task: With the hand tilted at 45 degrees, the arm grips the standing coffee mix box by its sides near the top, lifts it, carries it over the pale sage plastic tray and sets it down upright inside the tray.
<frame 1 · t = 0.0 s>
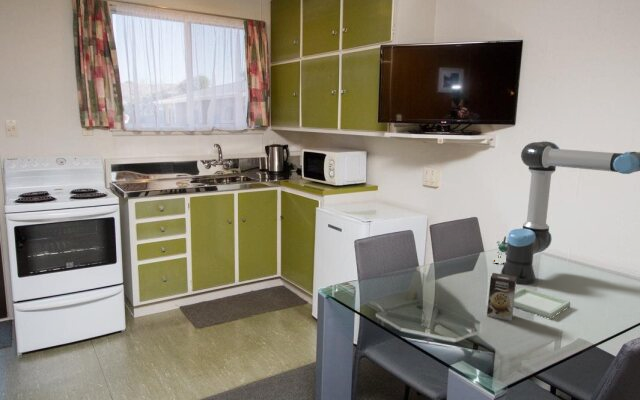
frog figurine: (503, 261, 247), on the table
coffee box: (499, 316, 180), on the table
tray: (535, 305, 190), on the table
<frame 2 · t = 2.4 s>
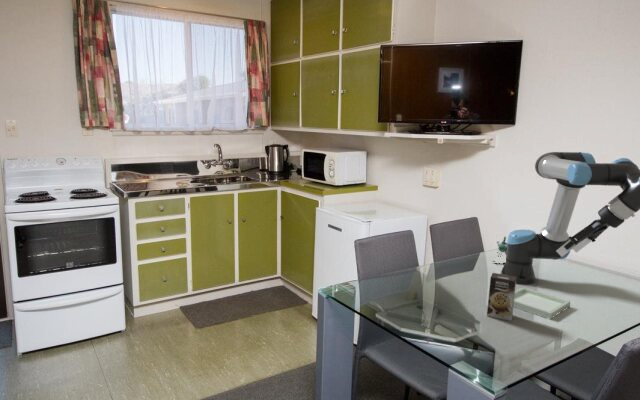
hand: (566, 251, 165), 29 cm above the table, fingers open, 13 cm apart
nothing on the table moved.
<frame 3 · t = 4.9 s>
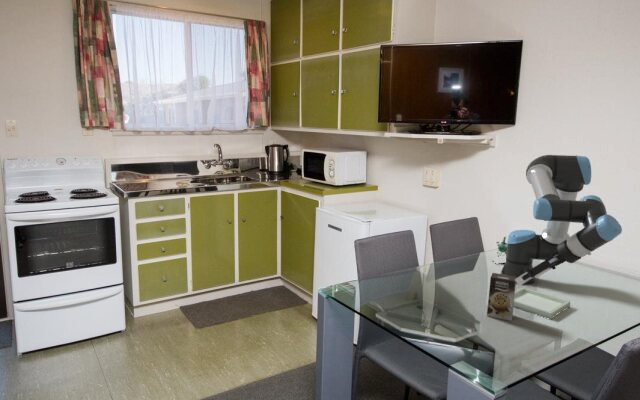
hand: (526, 278, 169), 18 cm above the table, fingers open, 13 cm apart
nothing on the table moved.
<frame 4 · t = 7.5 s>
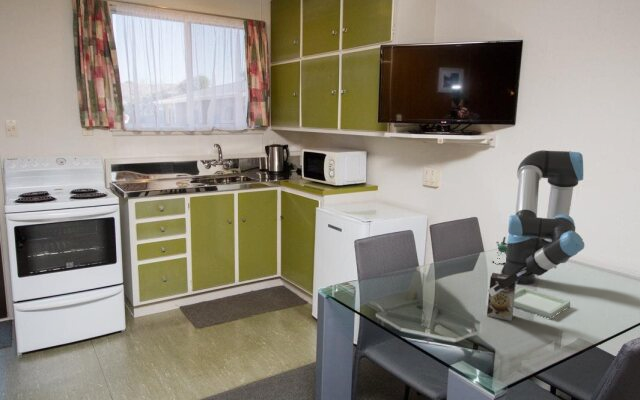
hand: (496, 290, 180), 10 cm above the table, fingers closed on coffee box, 9 cm apart
coffee box: (499, 316, 180), on the table, touching gripper
everything else where it was.
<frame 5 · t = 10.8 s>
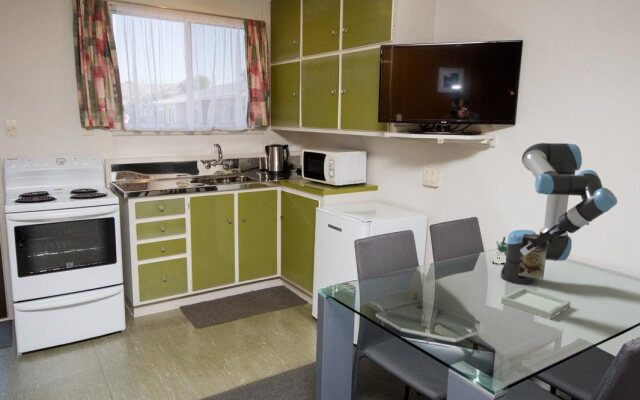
hand: (528, 250, 186), 23 cm above the table, fingers closed on coffee box, 9 cm apart
coffee box: (531, 275, 186), point 13 cm above the table, touching gripper
everything else where it was.
when the fingers open (12 cm above the table, at t = 13.9 s): coffee box drops 1 cm, resting on tray.
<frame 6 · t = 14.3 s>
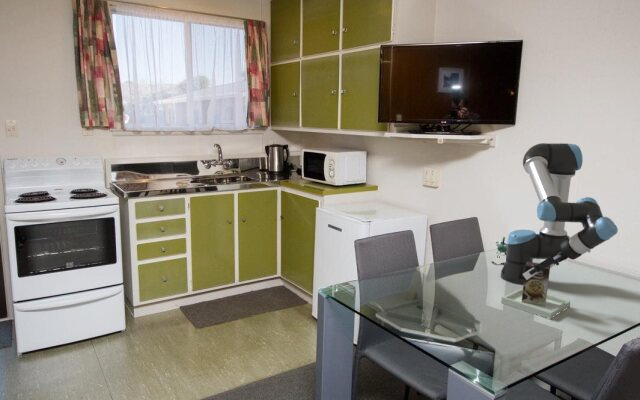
hand: (532, 273, 189), 13 cm above the table, fingers open, 13 cm apart
coffee box: (533, 302, 191), point 1 cm above the table, touching tray
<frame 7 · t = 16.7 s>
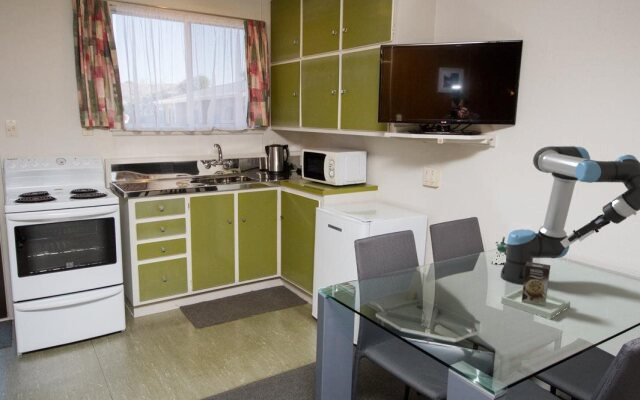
hand: (570, 241, 177), 30 cm above the table, fingers open, 13 cm apart
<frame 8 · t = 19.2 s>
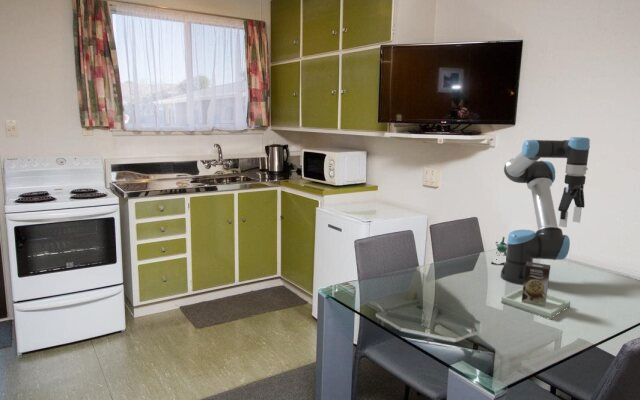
hand: (569, 224, 195), 32 cm above the table, fingers open, 13 cm apart
at the end: coffee box inside the target area on the tray (0.9 cm from its centre), point 0.8 cm above the tray's base; coffee box tilted 0°; the gripper is holding nothing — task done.
